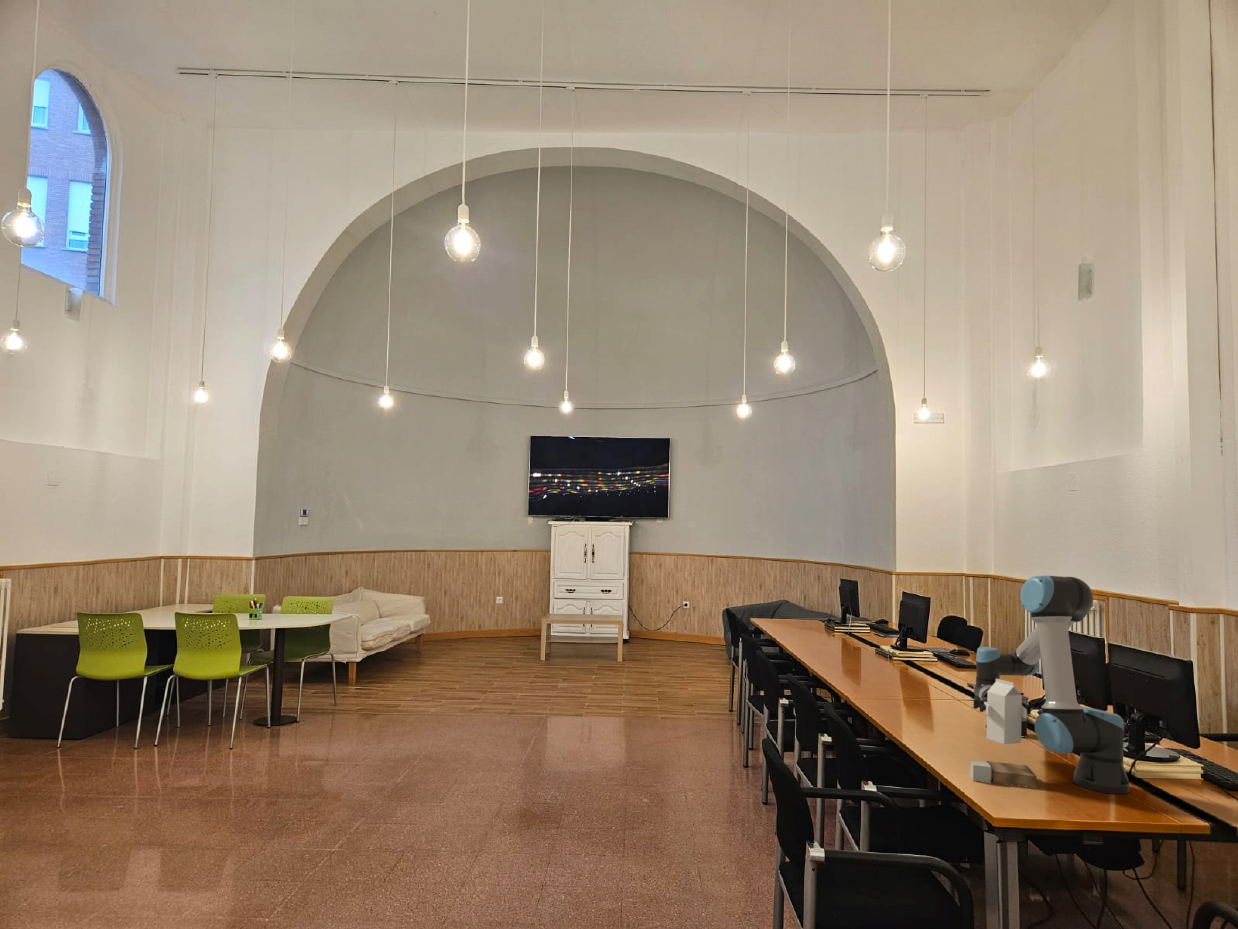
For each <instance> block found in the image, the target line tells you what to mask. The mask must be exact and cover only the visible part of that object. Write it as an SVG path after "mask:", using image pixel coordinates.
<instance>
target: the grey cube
mask: <svg viewBox="0 0 1238 929" xmlns="http://www.w3.org/2000/svg"><path fill="white" fill-rule="evenodd" d="M969 775H970V779H971V778H972V779H971V780H972V782H975V781H980V782H979V783H983V782H985V784H991V782H992V780H991V767H990V765H989V764H988V763H987V761H976V760H970V774H969Z"/></svg>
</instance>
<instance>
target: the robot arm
mask: <svg viewBox="0 0 1238 929" xmlns="http://www.w3.org/2000/svg"><path fill="white" fill-rule="evenodd" d="M1020 602H1021V605H1022V607H1024V608H1023V609H1024V610H1025V611H1028V612H1029V613H1030V617H1031V620H1032V621H1033V622H1034V623H1035V624H1036V626H1035V628H1034V629H1033V630H1032V631H1031V632H1030V633H1029V635H1028V636H1027V637H1026V638H1025V639H1024V640H1023V641H1022V643H1021V644H1019V646H1018V647H1017V648H1016V649H1015V651H1014V652H1011V653H1003V652H1002V653H1001V650H1000V649H999V648H997V647H990V646H981V647H980V646H979V647H978V648H977V650H976V658H975V662H976V663H975V664H976V666H975V668H976V676H975V684H974V686H973V692H974V699H973V703H972V704H973V709H975V710H976V709H979V712H980V713H984V712H985V713H986V715H987V714H988V715H990V713H991V706H990V705H989V704H988V703H987V695H988V690H989V689H990V688H991V687H992V686H993V684H994V683H995V682H996V679H1000V680H1001V678H1000V677H1001V676H1021V677H1026V676H1033V675H1035V674H1036V673H1037V672H1038V668H1039V661H1040V660H1041V671H1042V679H1043V686H1044V696H1045V701H1044V703H1043V705H1041V713H1040V714H1039V715H1037V717H1036V719H1035V720H1034V721H1035V722H1034V731H1035V735H1036V737H1037V739H1038V741H1039V743H1041V745H1042V746H1043V748H1045V749H1046V750H1048V751H1049V752H1051V753H1054V754H1064V755H1065V754H1066V755H1067V754H1068V755H1069V754H1078V753H1079V759H1078V762H1077V765H1076V767H1075V770H1074V772H1073V777H1072V778H1073V779H1072V780H1073V783H1075V784H1076V785H1077V786H1079V787H1082V788H1084V789H1087V790H1091V791H1096V792H1099V793H1107V794H1116V795H1117V794H1118V795H1119V794H1128V793H1130V787H1131V786H1130V780H1129V777H1128V775H1127V772H1126V769H1125V766H1124V747H1125V746H1124V745H1125V744H1124V742H1125V739H1124V737H1125V728H1124V719H1123V718H1122V716H1120V715H1119V714H1117V713H1113V712H1111V711H1106V710H1102V709H1097V708H1092V707H1084V706H1082V705H1081V704H1080V703H1078V700H1077V693H1076V692H1077V691H1076V684H1075V676H1074V669H1073V660H1072V653H1071V652H1072V651H1071V645H1070V644H1071V643H1070V635H1069V629H1071V627H1072V626H1073V625H1074V624H1075V623H1080V622H1082V621H1083V619H1085V617H1087V615H1088V614H1089V612H1091V609H1092V607H1093V604H1094V595H1093V592H1092V589H1091V588H1090V586H1089V584H1087V583H1086V582H1085V581H1084V580H1083V579H1080V578H1077V577H1074V576H1059V575H1046V574H1045V575H1035V576H1031V577H1029V578H1028V579H1026V581H1025V582H1024V583H1023V584H1022V587H1021V590H1020ZM1031 711H1032V706H1031V705H1030V704H1028V705H1027V704H1025V703H1022V708H1021V716H1022V717H1023V718H1027V719H1028V715H1031V714H1032V712H1031Z"/></svg>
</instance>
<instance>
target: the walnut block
mask: <svg viewBox="0 0 1238 929" xmlns="http://www.w3.org/2000/svg"><path fill="white" fill-rule="evenodd" d="M986 762H987V763H988V764H989V765H990V767H991V779H992V780H991V782H994V783H993V784H995V783H998V784H997V785H1004V784H1012V785H1020V786H1019V787H1021V786H1027V787H1026V788H1029V787H1036V788H1037V775H1036V774H1035V772H1033V770H1031V768H1030V767H1029V766H1028V765H1026V764H1025V765H1023V764H1017V763H1016V764H1015V763H1008V762H1000V761H999V762H998V761H990V760H986ZM1012 785H1011V786H1012Z"/></svg>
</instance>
